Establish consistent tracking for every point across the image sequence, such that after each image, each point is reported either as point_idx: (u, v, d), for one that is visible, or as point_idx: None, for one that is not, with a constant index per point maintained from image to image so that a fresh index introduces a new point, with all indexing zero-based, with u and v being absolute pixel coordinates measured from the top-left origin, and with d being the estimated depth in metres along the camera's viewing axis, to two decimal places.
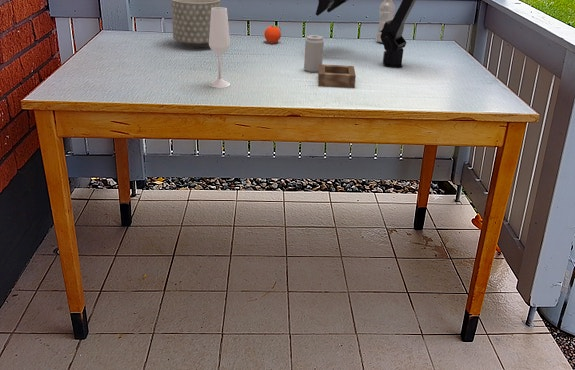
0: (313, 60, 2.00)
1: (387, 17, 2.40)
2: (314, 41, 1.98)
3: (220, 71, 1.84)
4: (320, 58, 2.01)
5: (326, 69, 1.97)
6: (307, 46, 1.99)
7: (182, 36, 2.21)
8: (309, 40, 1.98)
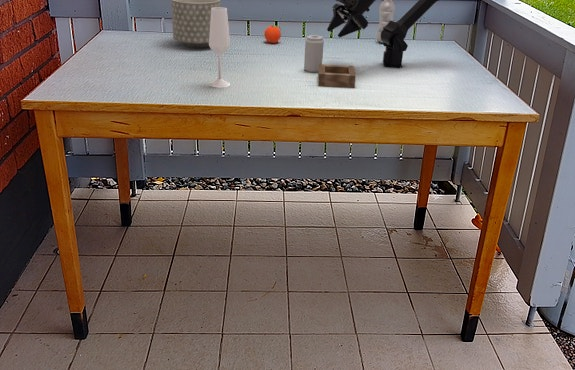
0: (313, 60, 2.00)
1: (387, 17, 2.40)
2: (314, 41, 1.98)
3: (220, 71, 1.84)
4: (320, 58, 2.01)
5: (326, 69, 1.97)
6: (307, 46, 1.99)
7: (182, 36, 2.21)
8: (309, 40, 1.98)
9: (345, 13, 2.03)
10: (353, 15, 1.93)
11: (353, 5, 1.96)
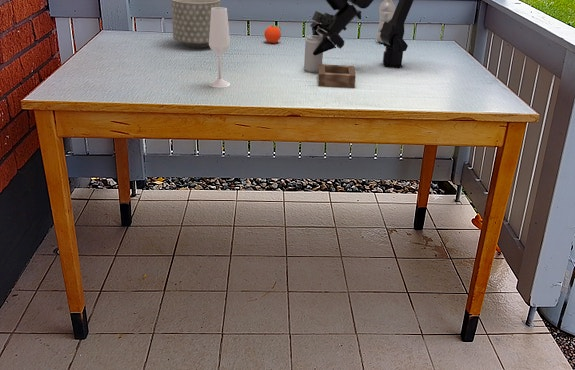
0: (313, 60, 2.00)
1: (387, 17, 2.40)
2: (314, 41, 1.98)
3: (220, 71, 1.84)
4: (320, 58, 2.01)
5: (326, 69, 1.97)
6: (307, 46, 1.99)
7: (182, 36, 2.21)
8: (309, 40, 1.98)
9: (322, 32, 2.03)
10: (329, 35, 1.93)
11: (329, 24, 1.97)
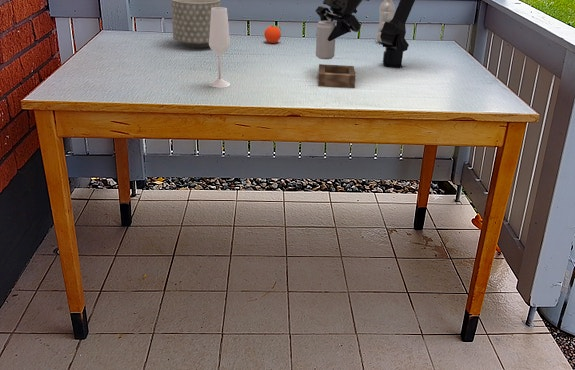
0: (327, 46, 1.91)
1: (387, 17, 2.40)
2: (328, 26, 1.88)
3: (220, 71, 1.84)
4: (334, 44, 1.92)
5: (326, 69, 1.97)
6: (320, 32, 1.90)
7: (182, 36, 2.21)
8: (322, 25, 1.89)
9: (331, 16, 1.94)
10: (346, 18, 1.85)
11: (342, 7, 1.88)
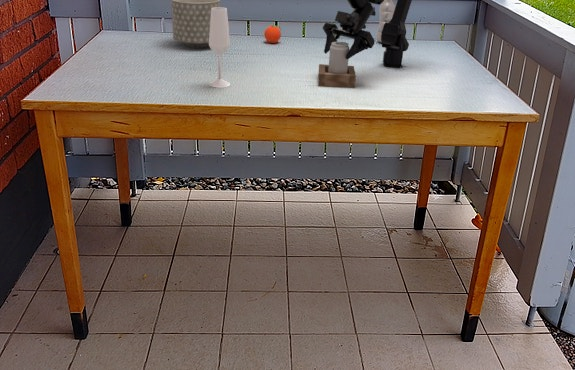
0: (342, 68, 1.89)
1: (387, 17, 2.40)
2: (343, 48, 1.86)
3: (220, 71, 1.84)
4: (347, 65, 1.91)
5: (326, 69, 1.97)
6: (335, 54, 1.87)
7: (182, 36, 2.21)
8: (338, 47, 1.86)
9: (340, 32, 1.92)
10: (362, 35, 1.83)
11: (355, 24, 1.87)
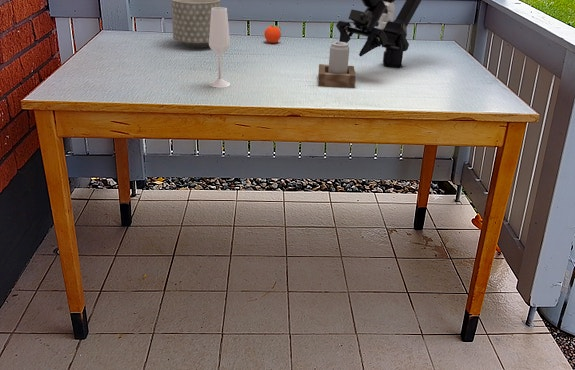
0: (342, 68, 1.89)
1: (387, 17, 2.40)
2: (343, 48, 1.86)
3: (220, 71, 1.84)
4: (347, 65, 1.91)
5: (326, 69, 1.97)
6: (335, 54, 1.87)
7: (182, 36, 2.21)
8: (338, 47, 1.86)
9: (354, 30, 1.97)
10: (376, 33, 1.88)
11: (368, 22, 1.91)
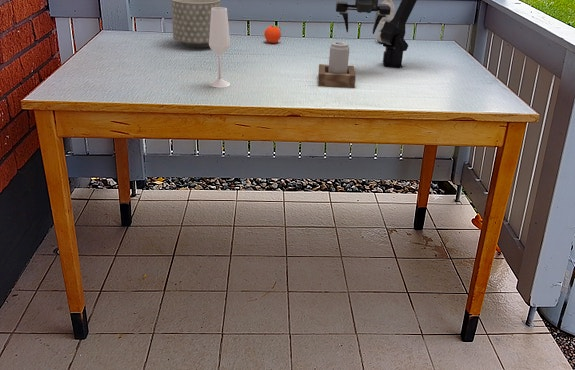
0: (342, 68, 1.89)
1: (387, 17, 2.40)
2: (343, 48, 1.86)
3: (220, 71, 1.84)
4: (347, 65, 1.91)
5: (326, 69, 1.97)
6: (335, 54, 1.87)
7: (182, 36, 2.21)
8: (338, 47, 1.86)
9: None
10: (386, 13, 1.97)
11: None
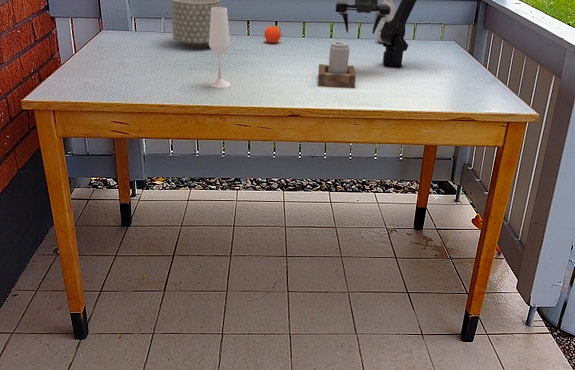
0: (342, 68, 1.89)
1: (387, 17, 2.40)
2: (343, 48, 1.86)
3: (220, 71, 1.84)
4: (347, 65, 1.91)
5: (326, 69, 1.97)
6: (335, 54, 1.87)
7: (182, 36, 2.21)
8: (338, 47, 1.86)
9: None
10: (385, 13, 1.97)
11: None
